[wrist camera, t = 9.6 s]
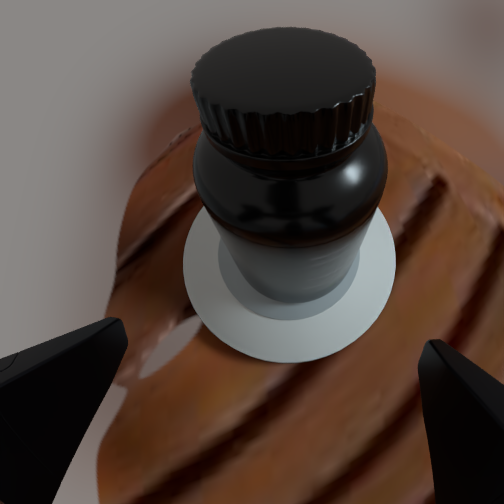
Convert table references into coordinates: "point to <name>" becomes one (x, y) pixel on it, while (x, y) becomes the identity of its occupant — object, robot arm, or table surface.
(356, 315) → the saucer
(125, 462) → the table surface
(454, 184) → the table surface
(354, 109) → the supplement bottle
